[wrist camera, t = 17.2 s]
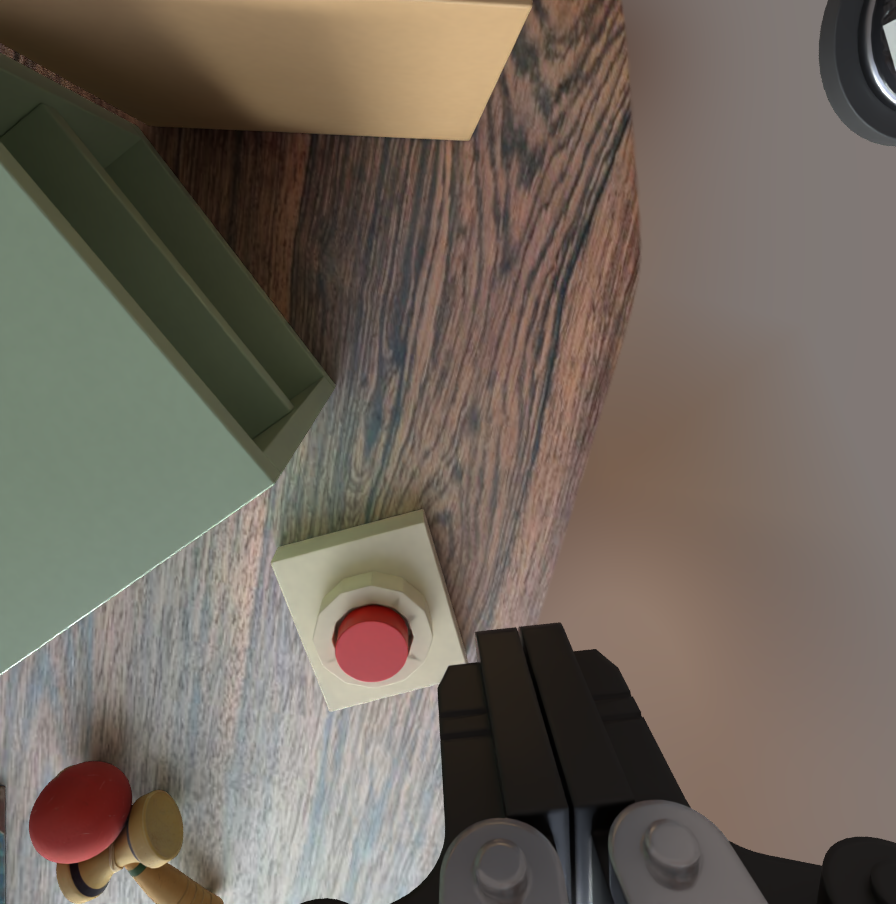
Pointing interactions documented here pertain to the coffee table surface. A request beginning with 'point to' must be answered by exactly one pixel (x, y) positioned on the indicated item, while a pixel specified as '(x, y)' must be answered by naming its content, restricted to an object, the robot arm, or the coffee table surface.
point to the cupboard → (121, 364)
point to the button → (372, 643)
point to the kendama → (111, 836)
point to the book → (2, 847)
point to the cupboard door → (278, 60)
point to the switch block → (371, 602)
